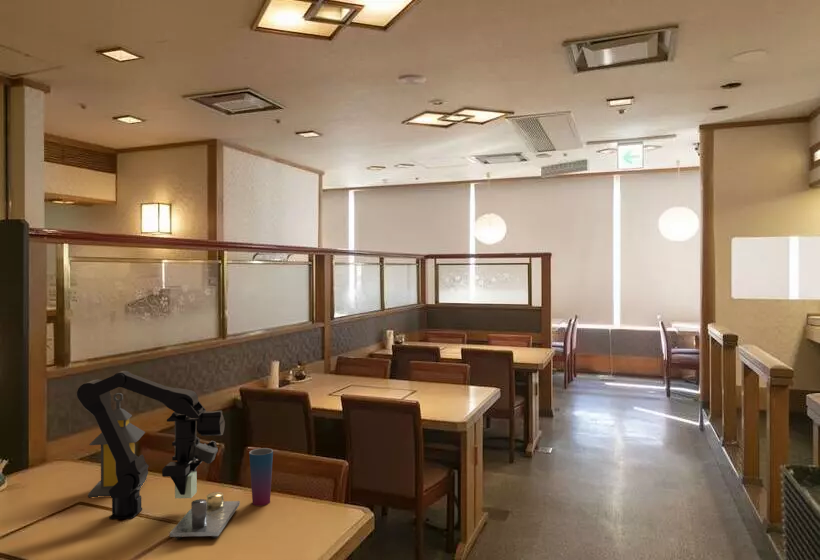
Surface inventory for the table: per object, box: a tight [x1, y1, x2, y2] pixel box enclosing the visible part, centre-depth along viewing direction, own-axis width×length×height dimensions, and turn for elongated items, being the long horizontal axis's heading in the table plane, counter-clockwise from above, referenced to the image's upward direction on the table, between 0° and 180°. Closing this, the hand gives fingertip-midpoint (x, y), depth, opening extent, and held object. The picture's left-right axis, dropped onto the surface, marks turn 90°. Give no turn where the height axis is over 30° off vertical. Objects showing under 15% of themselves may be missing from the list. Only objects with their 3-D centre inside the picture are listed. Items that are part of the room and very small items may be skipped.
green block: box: [174, 470, 198, 499], centre depth 161 cm, size 4×4×6 cm
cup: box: [248, 447, 274, 507], centre depth 167 cm, size 7×7×15 cm
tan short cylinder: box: [206, 491, 224, 509], centre depth 159 cm, size 4×4×3 cm
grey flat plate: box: [169, 500, 241, 540], centre depth 152 cm, size 12×20×2 cm, turn 2°
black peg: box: [190, 498, 207, 528], centre depth 146 cm, size 4×4×6 cm
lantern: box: [87, 392, 148, 497], centre depth 180 cm, size 14×14×30 cm
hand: (185, 491), depth 161 cm, fingers closed on green block, 4 cm apart
